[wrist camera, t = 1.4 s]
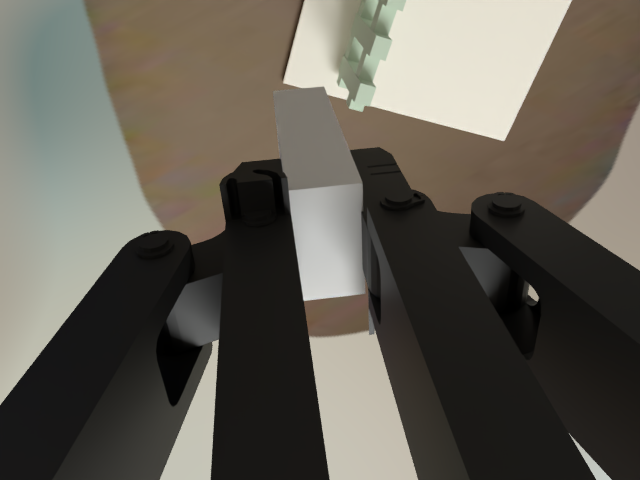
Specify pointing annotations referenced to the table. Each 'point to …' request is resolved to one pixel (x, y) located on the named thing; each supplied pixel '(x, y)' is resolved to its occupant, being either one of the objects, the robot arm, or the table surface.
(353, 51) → the fence gate
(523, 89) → the card
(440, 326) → the robot arm
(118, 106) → the table surface
